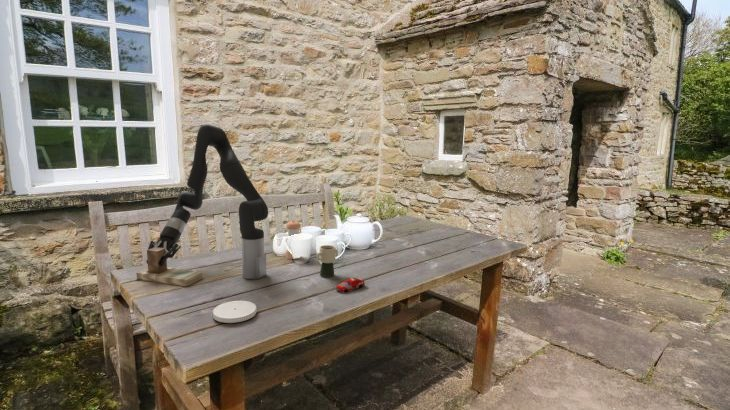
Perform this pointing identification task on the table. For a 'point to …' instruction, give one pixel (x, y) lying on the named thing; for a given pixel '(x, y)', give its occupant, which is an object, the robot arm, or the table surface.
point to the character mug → (327, 259)
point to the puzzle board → (172, 276)
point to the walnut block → (155, 260)
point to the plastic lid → (234, 311)
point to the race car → (350, 285)
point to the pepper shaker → (292, 233)
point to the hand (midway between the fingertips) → (154, 264)
